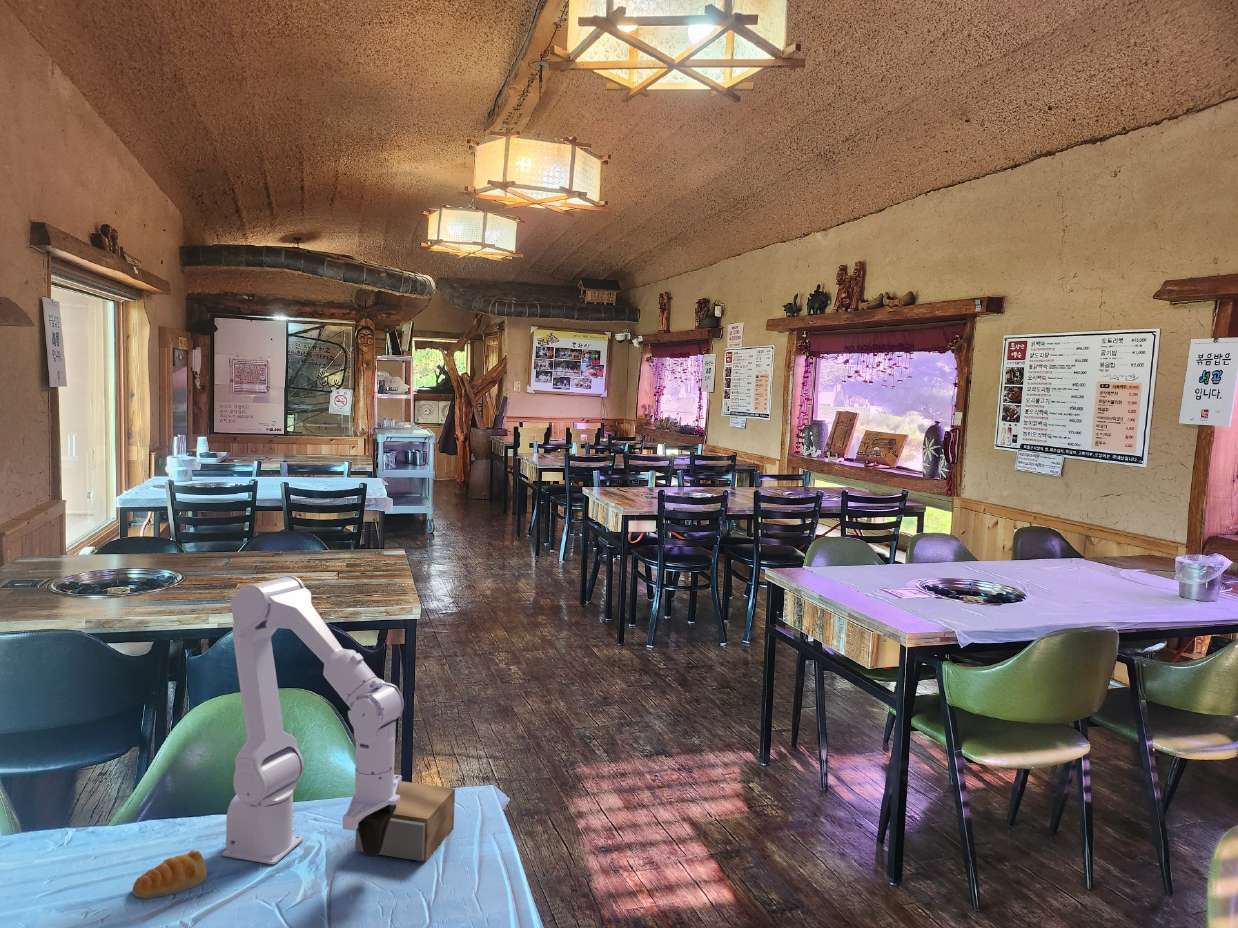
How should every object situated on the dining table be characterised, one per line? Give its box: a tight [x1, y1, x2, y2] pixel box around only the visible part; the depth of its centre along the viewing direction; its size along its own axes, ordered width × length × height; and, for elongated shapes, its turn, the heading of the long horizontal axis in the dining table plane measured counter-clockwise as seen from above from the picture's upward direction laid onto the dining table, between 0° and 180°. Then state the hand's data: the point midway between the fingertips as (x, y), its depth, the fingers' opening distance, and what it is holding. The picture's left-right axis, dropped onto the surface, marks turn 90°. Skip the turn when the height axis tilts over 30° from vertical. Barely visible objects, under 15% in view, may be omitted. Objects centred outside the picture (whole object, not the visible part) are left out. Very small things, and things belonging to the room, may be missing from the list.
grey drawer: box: [354, 818, 425, 862], centre depth 131 cm, size 11×12×6 cm
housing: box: [391, 780, 456, 863], centre depth 133 cm, size 11×12×7 cm
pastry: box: [132, 849, 208, 899], centre depth 117 cm, size 9×7×4 cm
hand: (372, 852), depth 121 cm, fingers closed
